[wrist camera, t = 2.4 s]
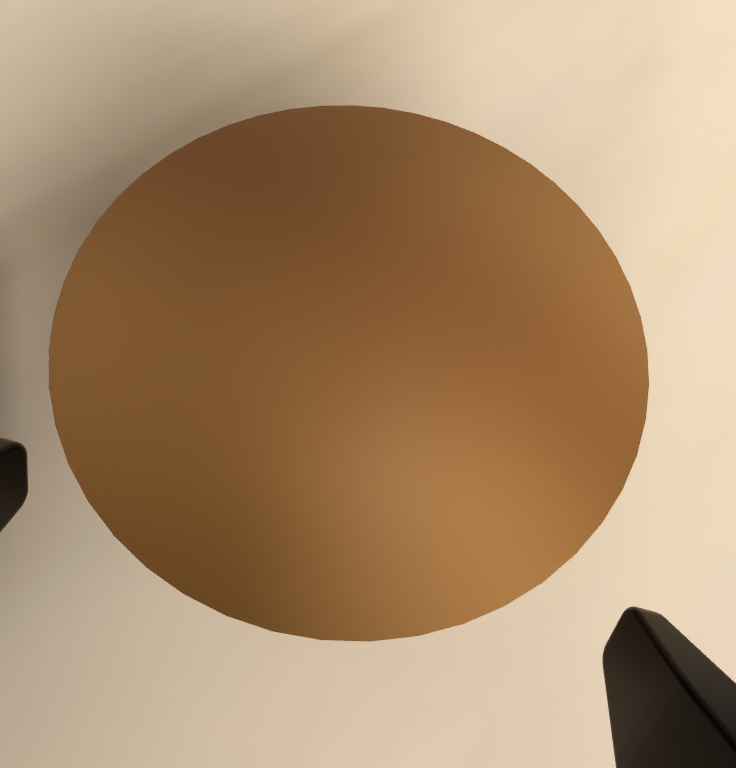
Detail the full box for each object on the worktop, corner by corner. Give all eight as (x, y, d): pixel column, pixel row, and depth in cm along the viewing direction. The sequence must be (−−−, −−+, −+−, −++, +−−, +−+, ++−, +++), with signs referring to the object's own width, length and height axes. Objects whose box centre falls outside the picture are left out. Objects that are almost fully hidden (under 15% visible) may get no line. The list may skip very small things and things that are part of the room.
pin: (373, 653, 15) (524, 799, 4) (217, 560, 16) (-100, 421, 4) (449, 490, 18) (708, 235, 6) (307, 414, 18) (266, 42, 6)
